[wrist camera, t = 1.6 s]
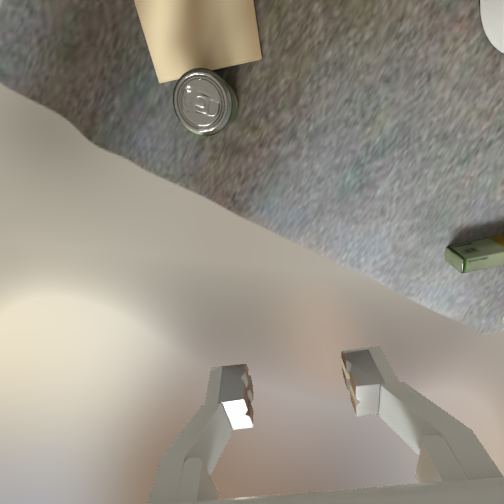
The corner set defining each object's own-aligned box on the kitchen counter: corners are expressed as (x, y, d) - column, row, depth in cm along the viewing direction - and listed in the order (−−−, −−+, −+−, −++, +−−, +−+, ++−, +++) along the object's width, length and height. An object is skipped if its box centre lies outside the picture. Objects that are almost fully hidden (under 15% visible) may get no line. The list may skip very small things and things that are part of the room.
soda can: (201, 74, 31) (174, 55, 20) (243, 89, 31) (238, 78, 21) (193, 121, 33) (165, 126, 22) (232, 133, 34) (223, 144, 23)
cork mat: (245, -53, 26) (245, -56, 25) (261, 58, 30) (261, 58, 29) (129, -20, 27) (127, -23, 26) (160, 83, 31) (159, 82, 31)
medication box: (443, 260, 43) (460, 274, 39) (444, 246, 41) (462, 259, 38) (524, 244, 41) (550, 257, 38) (529, 228, 40) (555, 240, 36)
